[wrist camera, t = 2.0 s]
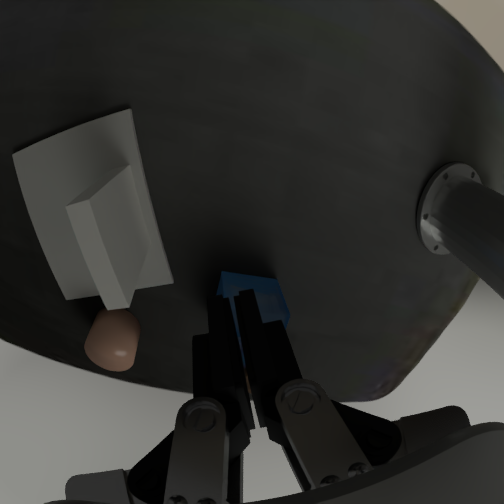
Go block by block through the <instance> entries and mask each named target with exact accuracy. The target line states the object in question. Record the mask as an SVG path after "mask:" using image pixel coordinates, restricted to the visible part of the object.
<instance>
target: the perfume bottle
mask: <svg viewBox="0 0 504 504" xmlns="http://www.w3.org/2000/svg"><path fill="white" fill-rule="evenodd" d="M247 289H254V293H255V296H256V300H257V304H258V307H259V311H260V315H261V318H262V322H263V323H267V322H271V321H276V320H282V322H283V324H284V327H285V329H286V326H287V324H288V321H289V318H290V313H289V310H288V308H287V305H286V302H285V299H284V297H283V294H282V291H281V289H280V286H279V283H278V281H277V279H272V278H265V277H258V276H251V275H244V274H237V273H231V272H224V271H222V273H221V277H220V281H219V285H218V289H217V294H216V295H221V294H222V296H223V298H227V297H229V301H230V305H231V310H232V314H233V319H234V323H235V327H236V332H237V336H238V341H239V345H240V349H241V354H242V360H243V365H244V371H245V376H246V382H247V387H248V393H251V389H250V385H249V380H248V375H247V370H246V365H245V359H244V354H243V348H242V343H241V337H240V332H239V326H238V320H237V315H236V309H235V303H234V297H233V296H237V295H239V291H242V290H247Z"/></svg>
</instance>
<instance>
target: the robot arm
mask: <svg viewBox="0 0 504 504" xmlns="http://www.w3.org/2000/svg"><path fill="white" fill-rule="evenodd" d="M417 231H418V235H419V238H420V240H421V242H422V243H423V245H424V246H425V247H426V248H427V249H428V250H430V251H431V252H433V253H435V254H439V255H443V254H448V253H452V254H453V255H455V256H456V257H457V258H458V259H459V260H461V261H462V262H463V263H464V264H465V265H466V266H468V267H469V268H470V269H471V270H472V271H473V272H474V273H476V274H477V275H478V276H479V277H480V278H481V279H482V280H484V281H485V282H486V283H487V284H488V285H489V286H490V287H491V288H492V289H493V290H494V291H495V292H496V293H498V294H499V295H500V296H501V297H502V298H503V299H504V196H503V195H502V194H500V193H498V192H496V191H494V190H492V189H490V188H488V187H486V186H484V185H482V183H481V180H480V177H479V175H478V174H477V172H476V171H475V170H474V169H473V168H472V167H471V166H469V165H466V164H464V163H461V162H452V163H449V164H446V165H444V166H443V167H441V168H440V169H439V170H438V171H437V172H435V173H434V175H433V176H432V177H431V179H430V180H429V181H428V183H427V185H426V187H425V188H424V191H423V193H422V195H421V198H420V201H419V205H418V210H417ZM233 297H234V303H235V309H236V315H237V320H238V326H239V332H240V337H241V343H242V348H243V354H244V359H245V365H246V370H247V375H248V380H249V385H250V389H251V393H252V397H253V401H254V405H255V409H256V413H257V416H258V421H259V425H260V427H261V428H262V427H267V431H268V435H269V439H270V440H272V441H274V442H276V443H278V444H280V445H281V446H282V449H283V451H284V453H285V455H286V458H287V460H288V462H289V464H290V466H291V468H292V471H293V473H294V475H295V477H296V479H297V481H298V483H299V485H300V487H301V489H302V491H303V492H301V493H297V494H292V495H288V496H283V497H278V498H273V499H268V500H261V501H255V502H248V503H243V451H244V449H245V448H246V447H247V446H248V445H249V444H250V439H249V438H250V437H251V435H250V430H251V429H255V424H254V419H253V414H252V409H251V403H250V398H249V393H248V387H247V382H246V376H245V371H244V365H243V360H242V354H241V349H240V345H239V341H238V336H237V332H236V327H235V323H234V319H233V314H232V310H231V305H230V301H229V297H227V298H223V296H222V294H221V295H215V296H210V297H207V307H208V325H209V333H207V334H201V335H195V336H193V340H192V354H193V399H191V400H189V401H187V402H186V403H184V404H183V405H182V407H181V408H180V409H179V411H178V414H177V417H176V423H175V429H174V430H173V431H172V432H171V433H170V434H169V435H168V436H167V437H166V438H165V439H163V440H162V441H161V442H160V443H159V444H158V445H157V446H156V447H155V448H154V449H153V450H152V451H151V452H149V453H148V454H147V455H146V456H145V457H144V458H143V459H141V460H140V461H139V462H138V463H137V464H136V465H135V466H134V467H133V468H132V469H130V470H125V471H124V470H123V469H118V470H112V471H106V472H98V473H90V474H81V475H75V476H72V477H71V478H70V479H69V480H68V482H67V483H66V488H65V494H66V500H58V501H52V502H48V503H44V504H504V423H500V422H487V423H481V424H477V425H473V426H471V425H470V422H469V419H468V416H467V414H466V412H465V411H464V410H463V409H462V408H460V407H458V406H446V407H443V408H439V409H435V410H432V411H428V412H423V413H420V414H415V415H410V416H406V417H401V418H400V420H396V421H389V420H387V419H384V418H381V417H378V416H374V415H371V414H369V413H366V412H363V411H360V410H357V409H355V408H352V407H349V406H346V405H343V404H341V403H338V402H336V401H333V400H331V399H330V398H329V397H328V395H327V394H326V392H325V390H324V389H323V388H322V387H321V386H320V384H318V383H316V382H315V381H313V380H309V379H303V378H302V375H301V373H300V370H299V367H298V364H297V361H296V358H295V356H294V353H293V350H292V347H291V344H290V341H289V339H288V336H287V333H286V330H285V327H284V324H283V322H282V320H276V321H271V322H267V323H263V322H262V318H261V315H260V311H259V307H258V304H257V300H256V296H255V293H254V289H247V290H242V291H239V295H237V296H233Z"/></svg>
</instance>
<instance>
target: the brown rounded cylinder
mask: <svg viewBox="0 0 504 504" xmlns="http://www.w3.org/2000/svg"><path fill="white" fill-rule="evenodd" d="M140 331H141V327H140V324H139V322H138V320H137V319H136V318H135V316H134V315H132V314H131V313H130V312H128V311H127V310H125V309H122V308H121V309H114V310H107V308H106V307H105V308H103V309H101V310H100V311H99V312H98V313H97V315H96V317H95V320H94V322H93V325H92V327H91V329H90V332H89V334H88V337H87V339H86V342H85V346H84V347H85V352H86V354H87V356H88V357H89V358H90V359H91V360H92V361H93V362H94V363H95V364H97V365H98V366H100V367H102V368H105V369H107V370H111V371H124V370H127V369H129V368H130V367H131V366H132V365H133V363H134V358H135V354H136V349H137V345H138V340H139V336H140Z"/></svg>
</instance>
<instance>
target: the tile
mask: <svg viewBox="0 0 504 504" xmlns="http://www.w3.org/2000/svg"><path fill="white" fill-rule="evenodd" d="M65 207H66V211H67V214H68V217H69V220H70V223H71V226H72V228H73V231H74V234H75V237H76V239H77V242H78V245H79V247H80V250H81V252H82V255H83V257H84V260H85V262H86V265H87V267H88V269H89V272H90V274H91V276H92V279H93V281H94V283H95V285H96V288H97V290H98V292H99V294H100V296H101V298H102V300H103V303H104V305H105V306H106V308H107V310H114V309H121V308H128V307H130V303H131V300H132V297H133V294H134V291H135V288H136V285H137V282H138V279H139V276H140V273H141V270H142V267H143V264H144V261H145V258H146V255H147V253H148V250H149V247H150V244H151V241H150V238H149V235H148V231H147V228H146V224H145V221H144V217H143V214H142V210H141V207H140V203H139V199H138V195H137V191H136V187H135V184H134V179H133V175H132V171H131V167H130V165H126V166H123V167H119V168H115V169H112V170H111V171H109V172H108V173H107V174H105V175H104V176H103V177H101V178H100V179H99V180H97V181H96V182H95V183H93V184H92V185H91V186H90V187H88V188H87V189H86V190H85V191H83V192H82V193H81V194H80V195H78V196H77V197H76V198H75V199H73V200H72V201H71V202H70V203H69V204H68V205H66V206H65Z"/></svg>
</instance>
